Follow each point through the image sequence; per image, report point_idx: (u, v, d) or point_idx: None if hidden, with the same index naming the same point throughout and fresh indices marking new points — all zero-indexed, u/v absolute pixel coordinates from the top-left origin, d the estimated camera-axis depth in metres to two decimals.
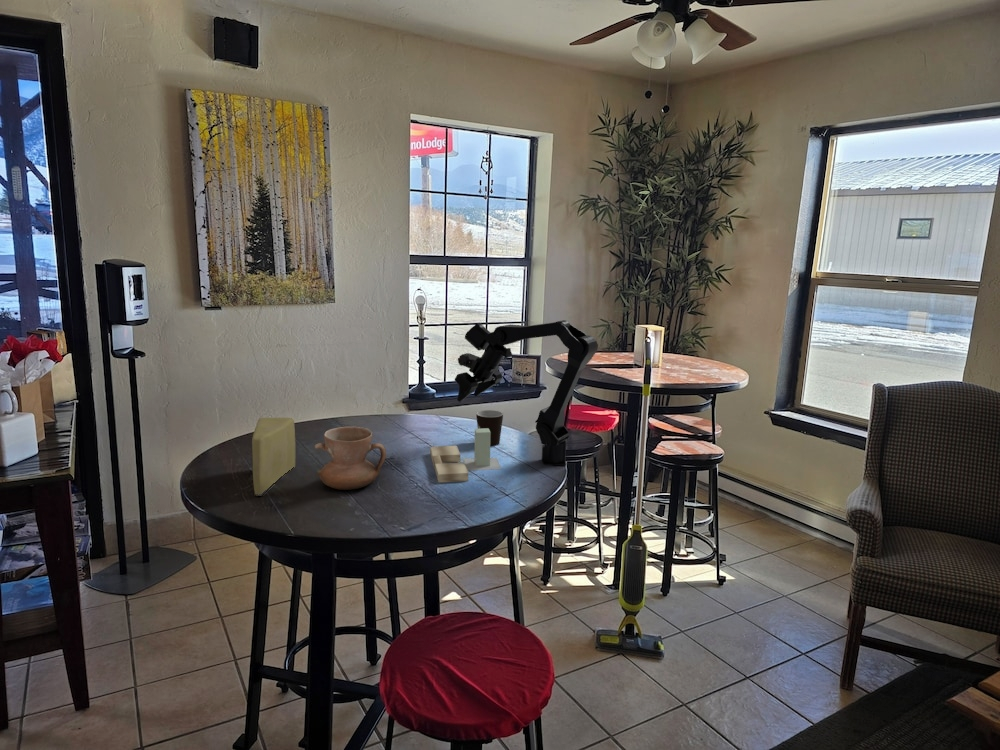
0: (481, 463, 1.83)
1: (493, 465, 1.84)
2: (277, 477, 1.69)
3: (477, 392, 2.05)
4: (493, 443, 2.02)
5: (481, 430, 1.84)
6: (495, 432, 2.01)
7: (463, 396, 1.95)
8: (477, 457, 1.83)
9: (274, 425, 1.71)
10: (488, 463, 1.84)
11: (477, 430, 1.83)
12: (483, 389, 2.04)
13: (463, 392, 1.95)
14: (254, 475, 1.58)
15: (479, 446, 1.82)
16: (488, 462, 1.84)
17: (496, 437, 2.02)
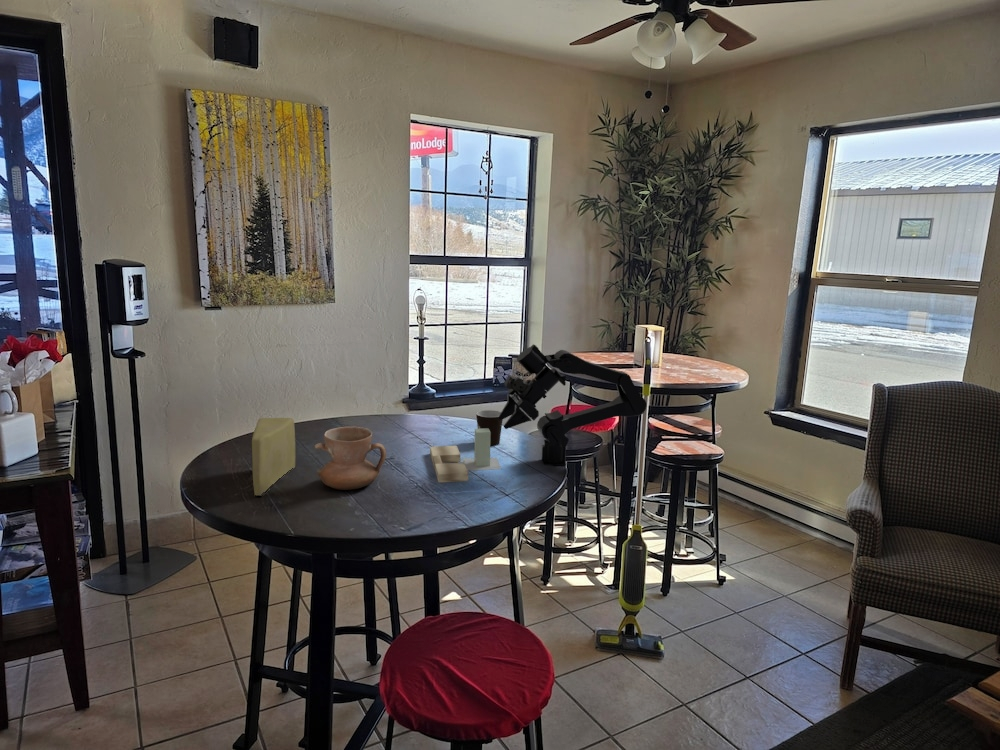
0: (481, 463, 1.83)
1: (493, 465, 1.84)
2: (277, 477, 1.69)
3: (503, 416, 1.89)
4: (493, 443, 2.02)
5: (481, 430, 1.84)
6: (495, 432, 2.01)
7: (515, 423, 1.79)
8: (477, 457, 1.83)
9: (274, 425, 1.71)
10: (488, 463, 1.84)
11: (477, 430, 1.83)
12: (511, 413, 1.89)
13: (517, 419, 1.79)
14: (254, 475, 1.58)
15: (479, 446, 1.82)
16: (488, 462, 1.84)
17: (496, 437, 2.02)
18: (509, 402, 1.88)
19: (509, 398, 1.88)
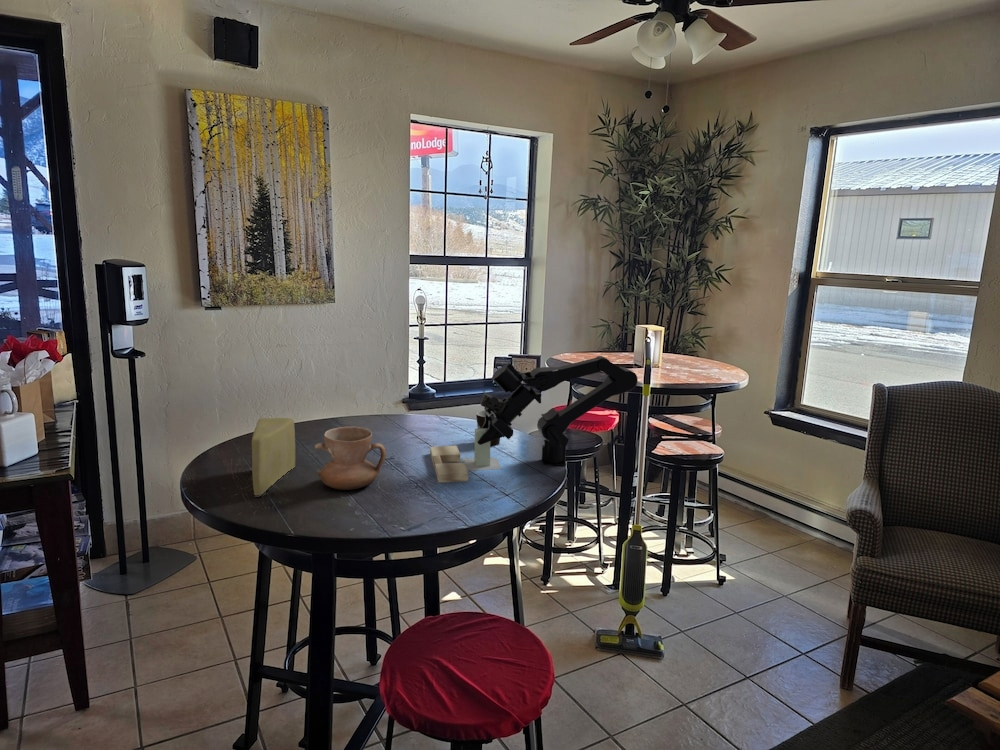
0: (481, 463, 1.83)
1: (493, 465, 1.84)
2: (277, 478, 1.68)
3: None
4: (493, 443, 2.02)
5: (481, 430, 1.84)
6: None
7: (489, 439, 1.81)
8: (477, 457, 1.83)
9: (274, 425, 1.70)
10: (488, 463, 1.84)
11: (477, 430, 1.83)
12: None
13: (490, 435, 1.81)
14: (254, 476, 1.57)
15: (479, 446, 1.82)
16: (488, 462, 1.84)
17: None
18: (486, 422, 1.86)
19: (486, 418, 1.86)
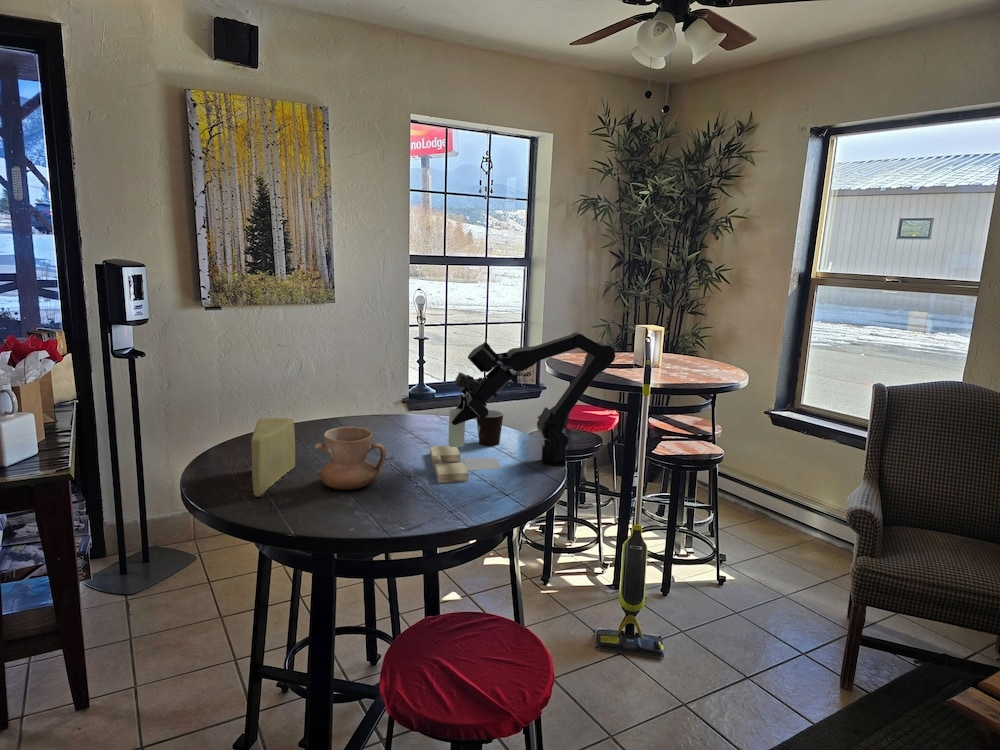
0: (455, 444, 1.80)
1: (493, 465, 1.84)
2: (277, 478, 1.68)
3: None
4: (493, 443, 2.02)
5: (456, 410, 1.80)
6: (495, 432, 2.01)
7: (463, 419, 1.78)
8: (451, 438, 1.79)
9: (274, 425, 1.70)
10: (462, 444, 1.80)
11: (451, 411, 1.80)
12: None
13: (465, 415, 1.78)
14: (254, 476, 1.57)
15: (453, 427, 1.79)
16: (462, 443, 1.80)
17: (496, 437, 2.02)
18: (461, 402, 1.83)
19: (461, 398, 1.83)
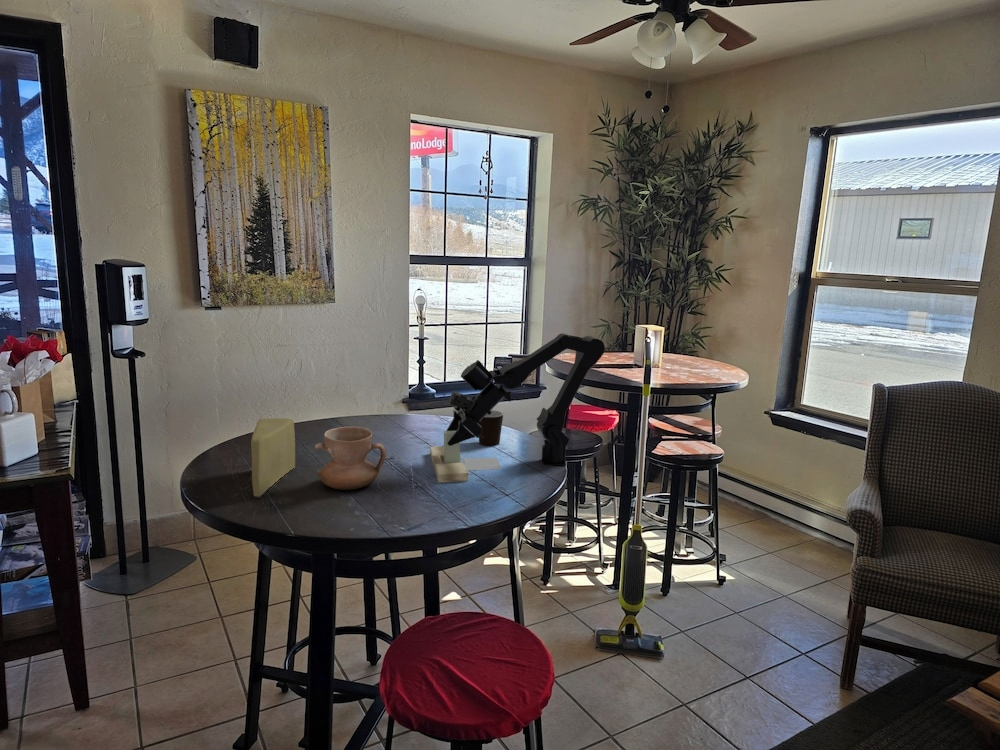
0: None
1: (493, 465, 1.84)
2: (277, 478, 1.68)
3: None
4: (493, 443, 2.02)
5: (450, 432, 1.81)
6: (495, 432, 2.01)
7: (459, 440, 1.77)
8: (446, 460, 1.80)
9: (274, 425, 1.70)
10: None
11: (446, 433, 1.80)
12: (457, 430, 1.86)
13: (460, 436, 1.76)
14: (253, 476, 1.57)
15: (448, 449, 1.80)
16: None
17: (496, 437, 2.02)
18: (455, 419, 1.85)
19: (455, 415, 1.85)
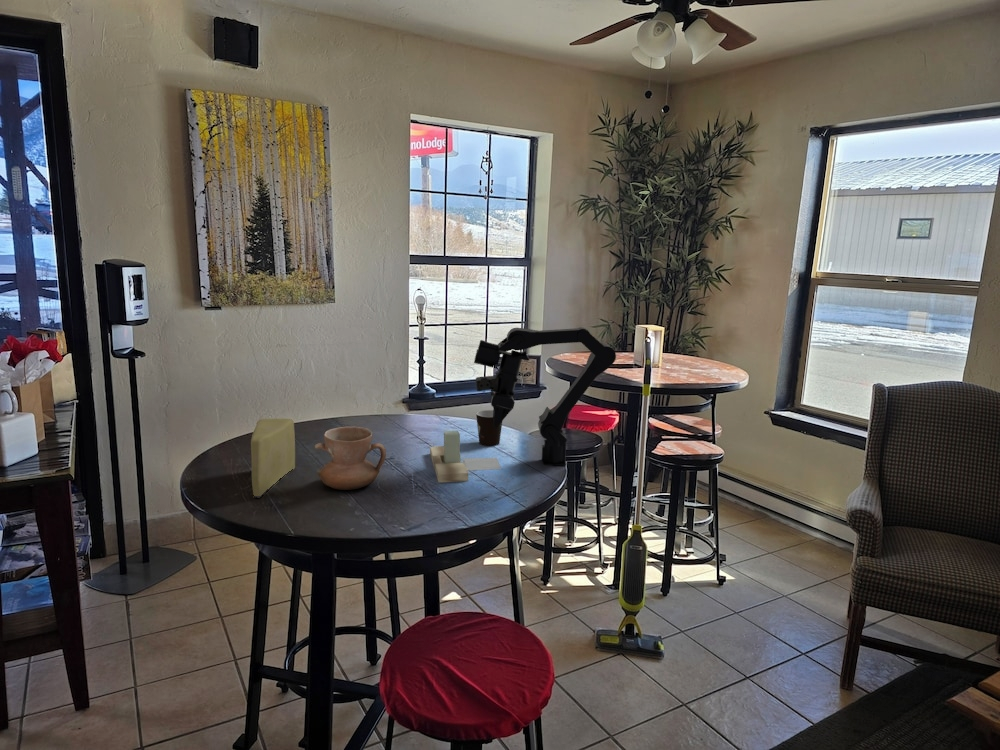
0: None
1: (493, 465, 1.84)
2: (276, 479, 1.68)
3: None
4: (493, 443, 2.02)
5: (450, 432, 1.81)
6: (495, 432, 2.01)
7: (501, 418, 1.80)
8: (446, 460, 1.80)
9: (274, 426, 1.70)
10: None
11: (446, 433, 1.80)
12: None
13: (500, 414, 1.80)
14: (253, 477, 1.57)
15: (448, 449, 1.80)
16: None
17: (496, 437, 2.02)
18: None
19: (492, 395, 1.90)
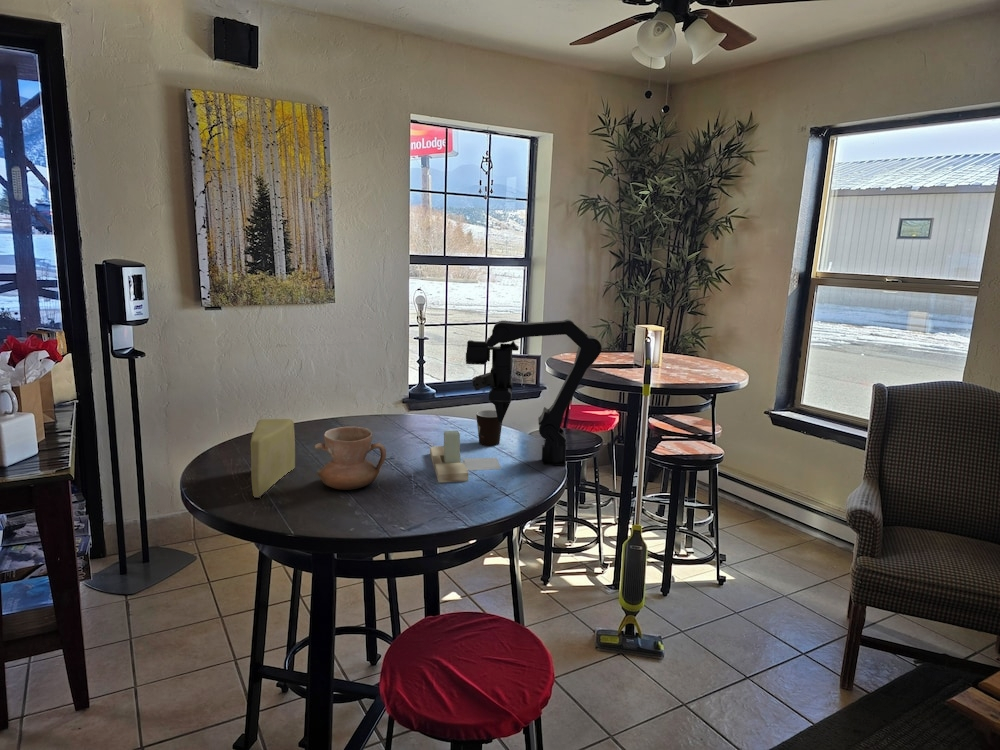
0: None
1: (493, 465, 1.84)
2: (276, 479, 1.67)
3: None
4: (493, 443, 2.02)
5: (450, 432, 1.81)
6: (495, 432, 2.01)
7: (503, 412, 1.81)
8: (446, 460, 1.80)
9: (274, 426, 1.70)
10: None
11: (446, 433, 1.80)
12: None
13: (501, 408, 1.81)
14: (253, 477, 1.56)
15: (448, 449, 1.80)
16: None
17: (496, 437, 2.02)
18: None
19: None
